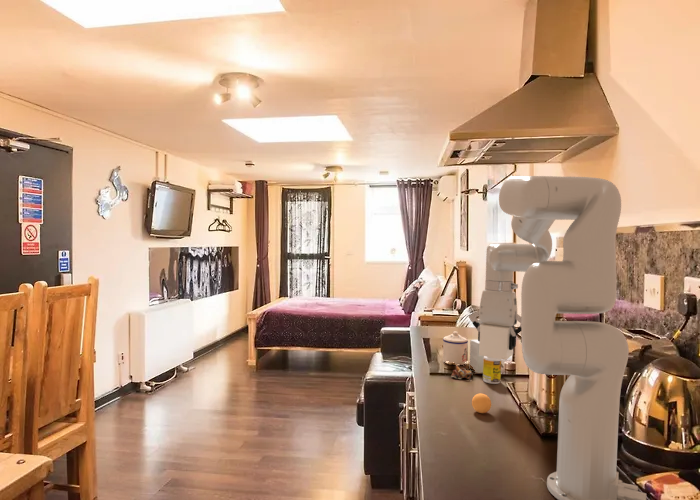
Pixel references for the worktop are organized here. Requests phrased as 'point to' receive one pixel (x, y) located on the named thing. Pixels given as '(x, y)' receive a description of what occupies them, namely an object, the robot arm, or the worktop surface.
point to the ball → (481, 403)
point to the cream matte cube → (494, 341)
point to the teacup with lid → (455, 348)
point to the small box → (476, 356)
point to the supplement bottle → (491, 370)
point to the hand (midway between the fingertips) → (496, 346)
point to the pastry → (461, 373)
